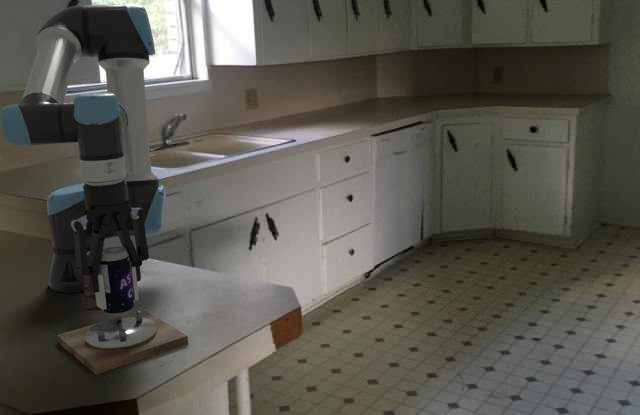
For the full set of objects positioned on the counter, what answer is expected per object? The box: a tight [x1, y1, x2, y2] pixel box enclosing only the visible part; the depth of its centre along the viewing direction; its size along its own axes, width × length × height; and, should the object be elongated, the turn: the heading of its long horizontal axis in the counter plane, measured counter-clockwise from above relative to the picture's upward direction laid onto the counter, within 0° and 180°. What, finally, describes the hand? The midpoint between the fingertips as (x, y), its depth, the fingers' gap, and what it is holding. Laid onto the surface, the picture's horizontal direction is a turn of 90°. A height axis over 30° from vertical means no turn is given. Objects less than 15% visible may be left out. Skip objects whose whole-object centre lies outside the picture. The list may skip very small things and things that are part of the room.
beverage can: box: [99, 246, 135, 317], centre depth 126 cm, size 6×6×12 cm
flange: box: [85, 310, 157, 351], centre depth 128 cm, size 13×13×3 cm
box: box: [82, 251, 102, 310], centre depth 146 cm, size 6×4×12 cm
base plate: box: [56, 309, 189, 376], centre depth 129 cm, size 18×18×2 cm
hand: (117, 302), depth 127 cm, fingers closed on beverage can, 6 cm apart
